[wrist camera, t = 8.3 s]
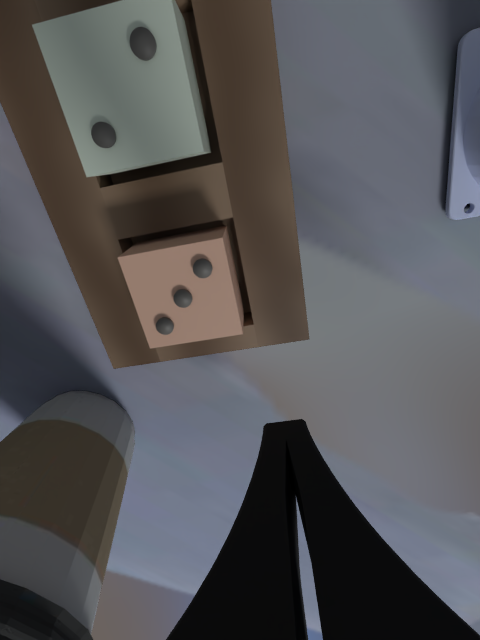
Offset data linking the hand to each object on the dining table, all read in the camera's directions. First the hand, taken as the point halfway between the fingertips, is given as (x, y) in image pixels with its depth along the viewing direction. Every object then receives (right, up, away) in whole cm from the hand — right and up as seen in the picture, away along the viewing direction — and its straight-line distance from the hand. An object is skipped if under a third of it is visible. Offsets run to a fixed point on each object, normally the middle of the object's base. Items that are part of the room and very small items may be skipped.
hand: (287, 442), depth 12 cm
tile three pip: (-4, +7, +8) cm, 11 cm away
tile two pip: (-6, +14, +4) cm, 16 cm away
